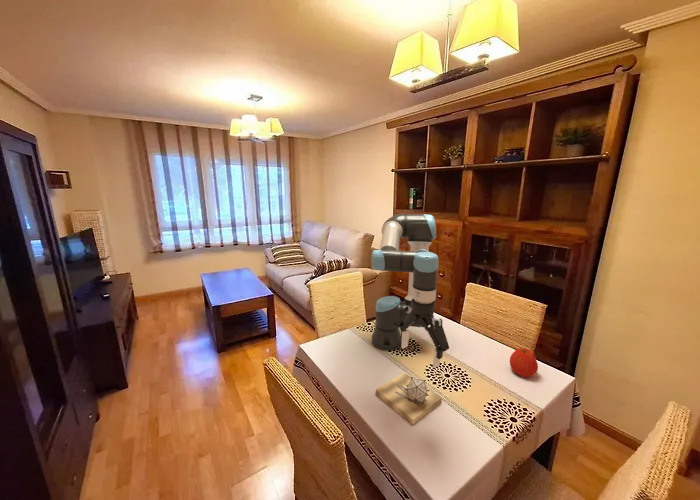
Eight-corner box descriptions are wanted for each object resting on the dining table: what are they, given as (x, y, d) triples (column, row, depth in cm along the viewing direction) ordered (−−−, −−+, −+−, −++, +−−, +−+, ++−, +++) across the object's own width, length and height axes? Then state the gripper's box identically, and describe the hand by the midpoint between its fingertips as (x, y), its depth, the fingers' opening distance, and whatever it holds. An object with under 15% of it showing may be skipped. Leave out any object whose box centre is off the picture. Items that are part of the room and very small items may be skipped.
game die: (419, 405, 103) (436, 385, 103) (417, 415, 95) (436, 392, 95) (400, 387, 106) (416, 367, 106) (396, 395, 98) (414, 373, 98)
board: (375, 393, 107) (375, 389, 107) (403, 376, 117) (404, 372, 116) (412, 424, 93) (413, 419, 93) (441, 402, 103) (441, 397, 102)
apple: (509, 361, 127) (513, 340, 124) (537, 370, 121) (541, 348, 118) (506, 373, 118) (510, 351, 116) (535, 383, 113) (539, 360, 110)
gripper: (388, 290, 100) (386, 343, 105) (450, 316, 81) (444, 379, 86) (402, 285, 104) (400, 336, 109) (464, 309, 85) (458, 369, 90)
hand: (419, 355), depth 98 cm, fingers open, 13 cm apart
